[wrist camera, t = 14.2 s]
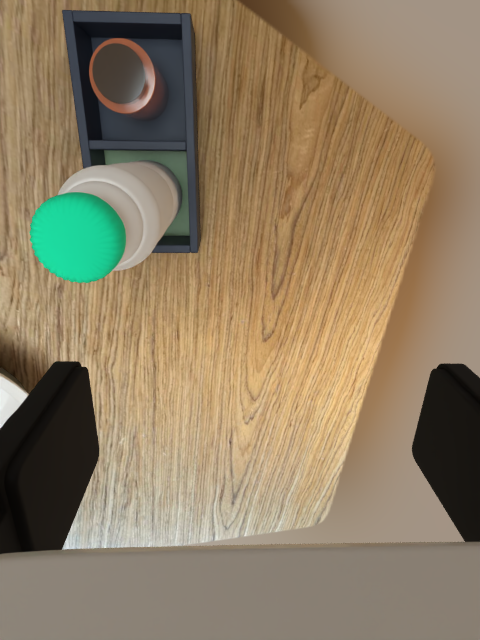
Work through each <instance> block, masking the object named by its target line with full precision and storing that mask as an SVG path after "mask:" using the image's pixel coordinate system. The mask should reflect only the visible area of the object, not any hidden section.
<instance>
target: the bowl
mask: <svg viewBox="0 0 480 640" xmlns="http://www.w3.org/2000/svg"><path fill="white" fill-rule="evenodd" d="M28 395H29V394H28V393H27V392H26V390H25V389H24V387H23V386H22V385H21V383H20V382H19V381H18V380H17V379H16V378H15V377H14V376H12V375H11V374H10V373H9V372H7V371H6V370H4V369H3V368H1V367H0V428H1V427H2V426H3V424H4V423H5V422H6V421H7V419H8V418H9V417H10V416H11V415H12V414H13V413H14V412H15V411H16V410H17V409H18V408H19V406H20V405H21V404H22V403H23V401H24V400H25V399H26V398H27V396H28Z"/></svg>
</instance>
